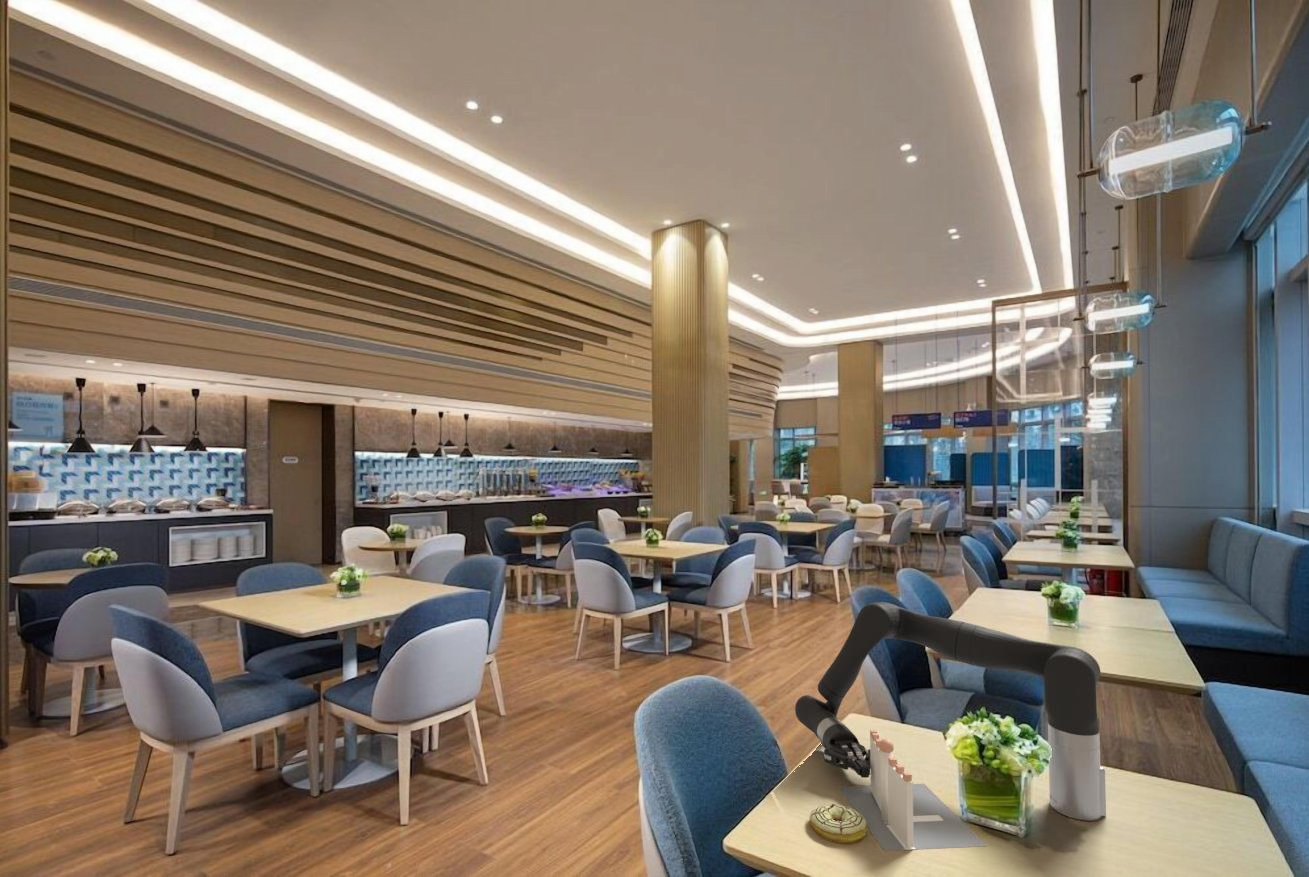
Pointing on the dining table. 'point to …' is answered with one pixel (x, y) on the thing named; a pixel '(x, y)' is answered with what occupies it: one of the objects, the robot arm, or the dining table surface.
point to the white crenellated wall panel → (875, 766)
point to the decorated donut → (838, 823)
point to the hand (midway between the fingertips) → (865, 772)
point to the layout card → (914, 821)
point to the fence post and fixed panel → (896, 794)
